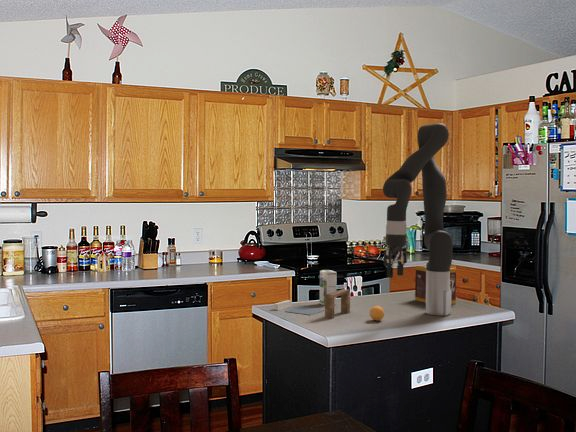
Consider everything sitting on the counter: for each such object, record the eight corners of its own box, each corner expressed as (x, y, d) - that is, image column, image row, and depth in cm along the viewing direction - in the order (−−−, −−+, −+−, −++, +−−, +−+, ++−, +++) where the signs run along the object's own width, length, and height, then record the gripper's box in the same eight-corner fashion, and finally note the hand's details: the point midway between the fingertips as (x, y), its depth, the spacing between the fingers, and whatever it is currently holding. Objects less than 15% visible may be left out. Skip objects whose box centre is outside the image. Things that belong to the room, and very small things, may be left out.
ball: (386, 320, 233) (386, 305, 232) (380, 322, 228) (380, 308, 228) (373, 318, 236) (373, 304, 235) (367, 320, 231) (367, 306, 231)
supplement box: (437, 306, 262) (438, 269, 261) (414, 300, 275) (415, 265, 275) (456, 303, 267) (456, 268, 266) (432, 298, 280) (433, 264, 280)
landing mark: (325, 310, 251) (325, 309, 251) (310, 315, 241) (310, 314, 241) (301, 307, 258) (301, 306, 258) (284, 311, 248) (284, 311, 248)
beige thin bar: (291, 306, 260) (291, 300, 259) (278, 310, 251) (278, 304, 251) (287, 305, 261) (287, 300, 261) (274, 309, 252) (274, 303, 252)
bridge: (349, 312, 247) (350, 289, 246) (331, 318, 235) (331, 295, 234) (343, 311, 248) (343, 289, 248) (324, 318, 236) (325, 294, 236)
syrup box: (318, 303, 266) (319, 270, 266) (331, 302, 268) (331, 269, 268) (324, 305, 261) (324, 271, 260) (336, 305, 263) (337, 271, 262)
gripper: (396, 234, 220) (395, 279, 221) (413, 232, 232) (412, 275, 232) (378, 233, 224) (377, 277, 225) (395, 231, 236) (394, 273, 237)
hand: (395, 276), depth 229 cm, fingers open, 8 cm apart
